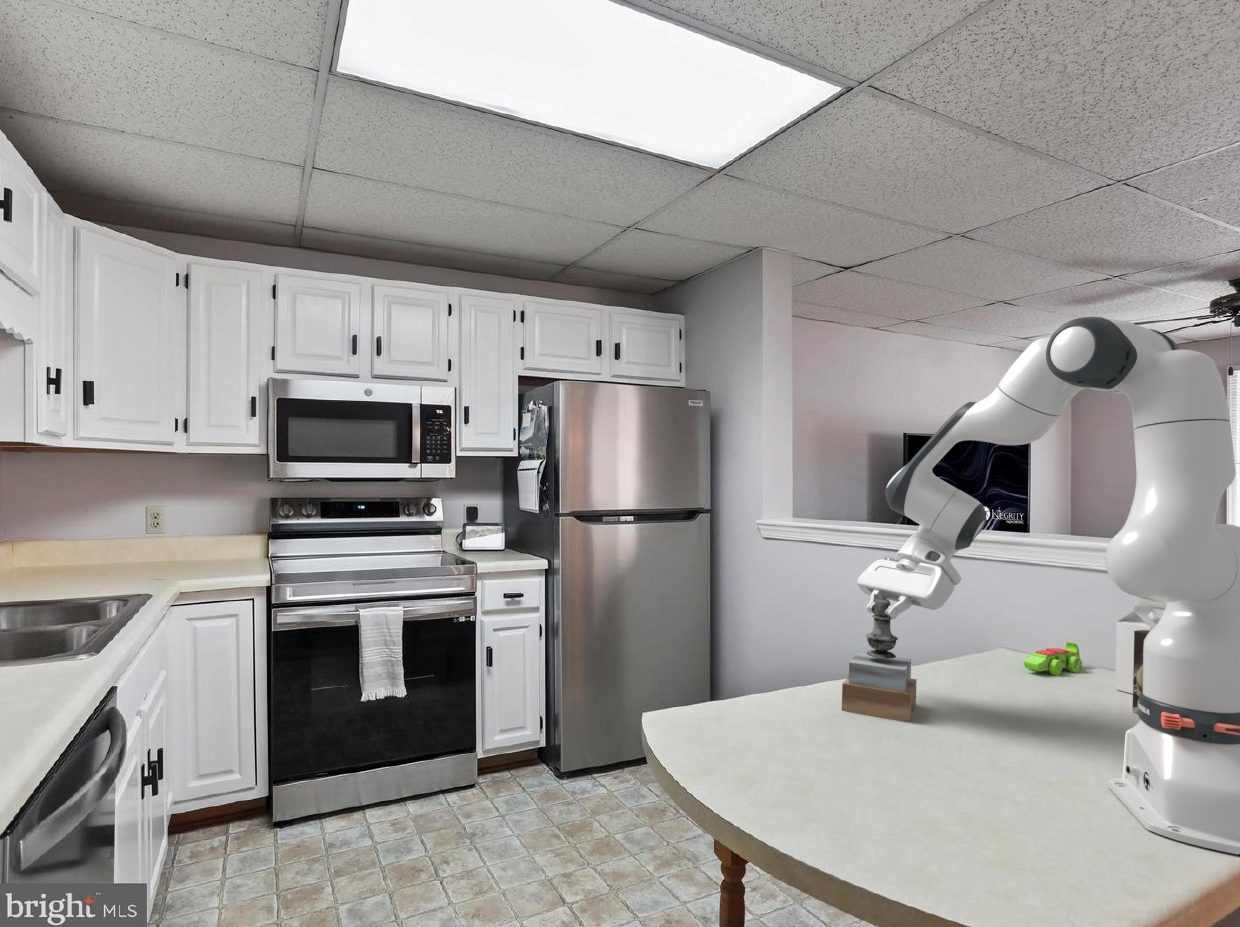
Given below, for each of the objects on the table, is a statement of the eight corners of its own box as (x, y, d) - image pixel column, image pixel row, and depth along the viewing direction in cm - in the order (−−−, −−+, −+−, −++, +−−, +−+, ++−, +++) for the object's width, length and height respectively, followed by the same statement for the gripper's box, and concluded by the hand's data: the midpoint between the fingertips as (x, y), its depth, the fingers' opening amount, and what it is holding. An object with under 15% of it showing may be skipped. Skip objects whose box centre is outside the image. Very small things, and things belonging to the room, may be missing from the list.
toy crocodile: (1042, 679, 165) (1042, 652, 165) (1014, 672, 171) (1015, 646, 171) (1092, 671, 174) (1092, 645, 174) (1064, 664, 180) (1064, 640, 180)
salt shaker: (892, 660, 135) (894, 596, 136) (861, 655, 139) (862, 593, 139) (901, 655, 140) (902, 593, 140) (870, 649, 144) (872, 589, 144)
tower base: (909, 722, 131) (910, 672, 131) (841, 710, 137) (842, 662, 137) (915, 704, 142) (917, 658, 142) (853, 694, 147) (854, 650, 147)
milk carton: (1114, 690, 157) (1116, 603, 158) (1134, 687, 160) (1136, 601, 161) (1150, 699, 151) (1151, 609, 151) (1170, 696, 154) (1171, 607, 154)
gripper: (874, 546, 152) (835, 593, 148) (951, 557, 133) (909, 612, 129) (890, 567, 154) (852, 614, 150) (969, 581, 135) (928, 636, 131)
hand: (879, 613), depth 139 cm, fingers closed on salt shaker, 4 cm apart
